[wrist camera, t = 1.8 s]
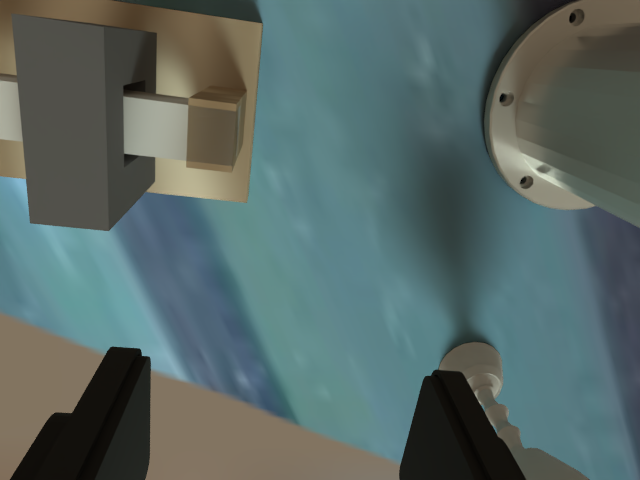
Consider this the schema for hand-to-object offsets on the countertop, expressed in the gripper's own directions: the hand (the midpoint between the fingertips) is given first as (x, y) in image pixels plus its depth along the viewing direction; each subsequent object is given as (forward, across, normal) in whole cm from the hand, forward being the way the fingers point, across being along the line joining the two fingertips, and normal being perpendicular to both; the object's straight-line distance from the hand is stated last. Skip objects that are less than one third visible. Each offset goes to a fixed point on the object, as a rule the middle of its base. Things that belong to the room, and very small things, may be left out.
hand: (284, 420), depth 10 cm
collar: (+18, +8, -3) cm, 20 cm away
